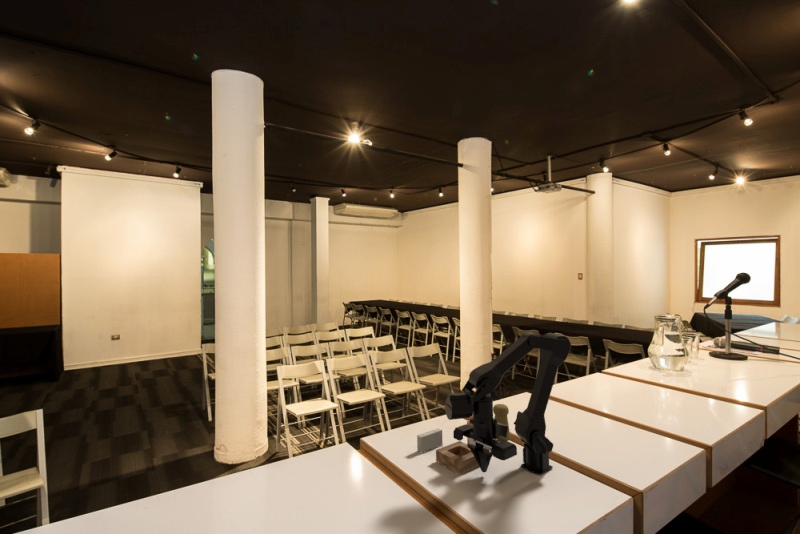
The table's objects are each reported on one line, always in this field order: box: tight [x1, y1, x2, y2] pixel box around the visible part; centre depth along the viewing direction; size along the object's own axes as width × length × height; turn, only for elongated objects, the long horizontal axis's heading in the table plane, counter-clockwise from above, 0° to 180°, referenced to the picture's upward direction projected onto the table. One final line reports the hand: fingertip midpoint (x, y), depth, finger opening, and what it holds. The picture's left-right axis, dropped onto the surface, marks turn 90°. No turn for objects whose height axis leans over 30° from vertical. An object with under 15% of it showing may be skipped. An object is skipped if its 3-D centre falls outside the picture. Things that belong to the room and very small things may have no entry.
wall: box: [416, 427, 443, 453], centre depth 127 cm, size 2×9×5 cm, turn 126°
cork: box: [493, 403, 512, 442], centre depth 134 cm, size 6×6×11 cm
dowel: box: [466, 420, 473, 445], centre depth 128 cm, size 4×4×8 cm
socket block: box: [435, 440, 480, 475], centre depth 117 cm, size 10×10×4 cm
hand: (484, 471), depth 109 cm, fingers closed
